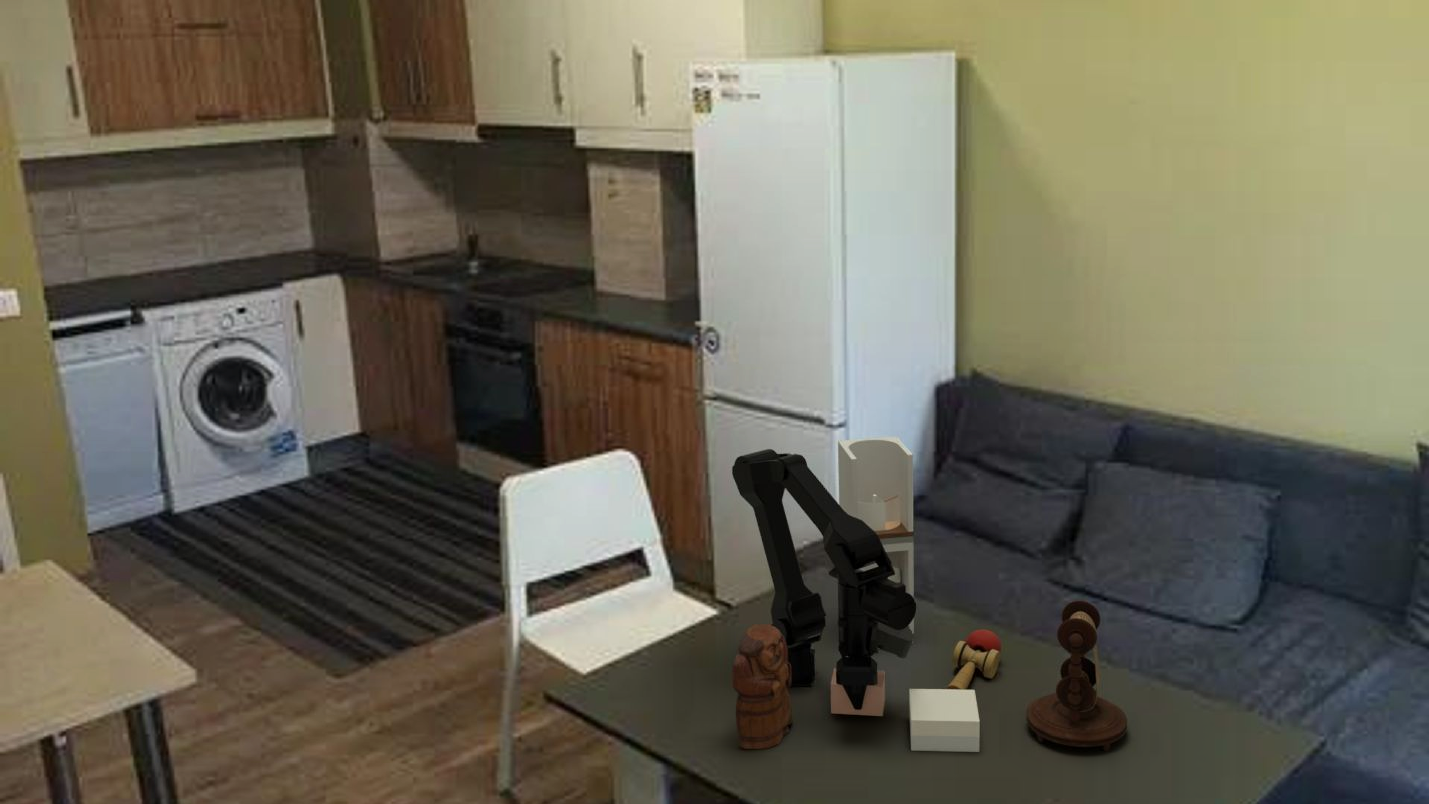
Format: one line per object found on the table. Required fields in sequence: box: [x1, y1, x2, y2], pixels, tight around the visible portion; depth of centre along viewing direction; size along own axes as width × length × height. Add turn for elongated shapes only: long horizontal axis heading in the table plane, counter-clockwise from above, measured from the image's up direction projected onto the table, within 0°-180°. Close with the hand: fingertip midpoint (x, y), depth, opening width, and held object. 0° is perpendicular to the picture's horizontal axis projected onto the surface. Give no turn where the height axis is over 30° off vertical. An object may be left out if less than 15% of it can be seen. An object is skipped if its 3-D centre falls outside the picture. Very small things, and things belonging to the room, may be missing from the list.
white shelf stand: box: [837, 436, 915, 645], centre depth 228 cm, size 11×11×35 cm
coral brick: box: [830, 667, 886, 717], centre depth 203 cm, size 8×6×5 cm
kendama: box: [945, 628, 1002, 690], centre depth 214 cm, size 8×6×18 cm
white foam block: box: [908, 688, 981, 753], centre depth 196 cm, size 10×10×5 cm
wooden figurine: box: [732, 623, 793, 750], centre depth 197 cm, size 12×6×18 cm, turn 154°
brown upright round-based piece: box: [1025, 600, 1128, 752], centre depth 193 cm, size 15×15×20 cm
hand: (858, 700), depth 203 cm, fingers closed on coral brick, 6 cm apart
